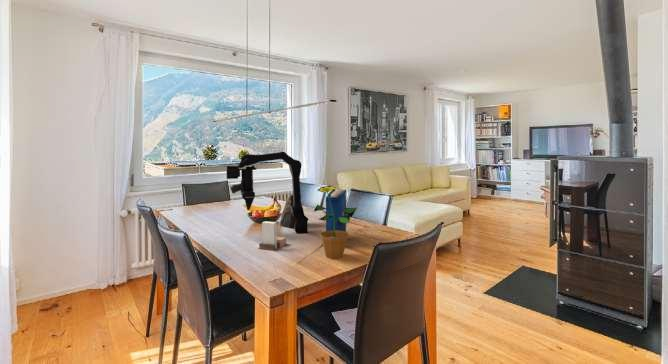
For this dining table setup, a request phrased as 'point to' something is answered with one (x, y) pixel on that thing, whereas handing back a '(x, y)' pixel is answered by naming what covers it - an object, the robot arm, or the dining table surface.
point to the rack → (269, 246)
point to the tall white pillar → (269, 233)
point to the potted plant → (334, 238)
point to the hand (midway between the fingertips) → (247, 208)
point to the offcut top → (281, 239)
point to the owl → (288, 214)
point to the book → (336, 209)
